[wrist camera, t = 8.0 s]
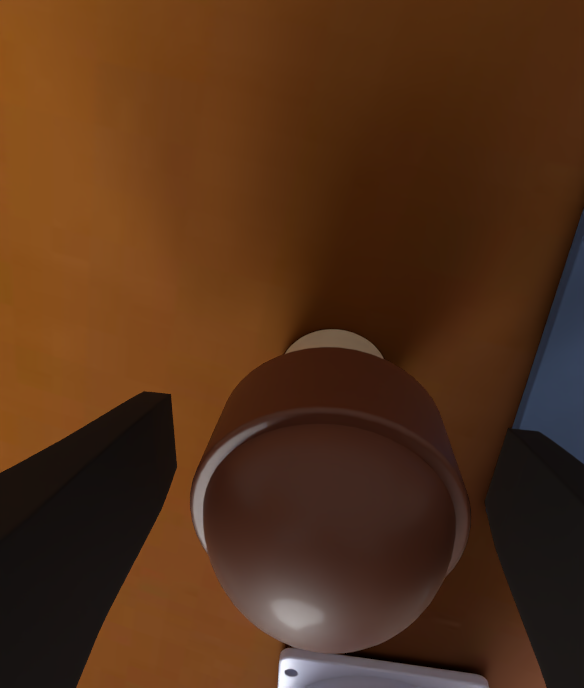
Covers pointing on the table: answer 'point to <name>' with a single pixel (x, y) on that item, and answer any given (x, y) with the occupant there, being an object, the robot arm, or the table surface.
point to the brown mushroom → (330, 496)
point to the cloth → (560, 363)
